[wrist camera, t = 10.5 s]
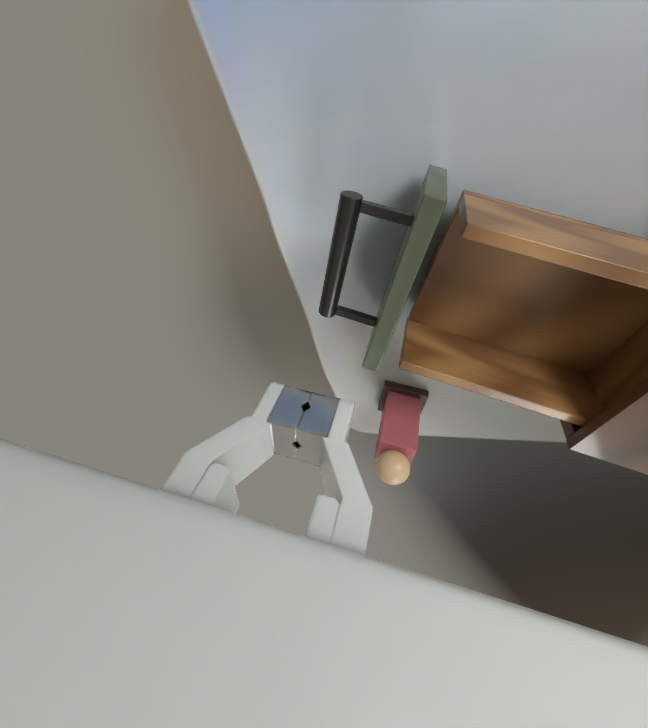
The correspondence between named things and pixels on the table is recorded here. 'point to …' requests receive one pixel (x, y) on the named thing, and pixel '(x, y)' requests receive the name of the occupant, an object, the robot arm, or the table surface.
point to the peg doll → (398, 431)
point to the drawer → (507, 301)
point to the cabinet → (616, 432)
